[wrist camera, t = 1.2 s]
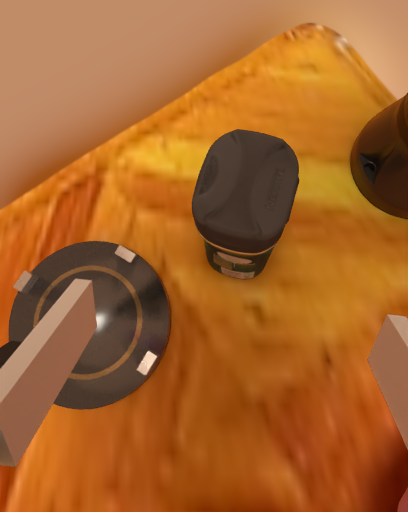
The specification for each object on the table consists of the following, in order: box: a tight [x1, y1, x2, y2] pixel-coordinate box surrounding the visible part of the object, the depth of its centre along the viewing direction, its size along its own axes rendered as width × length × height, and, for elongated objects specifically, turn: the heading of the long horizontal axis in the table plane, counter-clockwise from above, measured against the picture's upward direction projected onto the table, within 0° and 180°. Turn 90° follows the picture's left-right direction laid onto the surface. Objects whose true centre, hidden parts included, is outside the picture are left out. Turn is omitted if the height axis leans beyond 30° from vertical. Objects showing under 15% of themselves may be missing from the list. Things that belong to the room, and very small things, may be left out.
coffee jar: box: [192, 129, 299, 279], centre depth 32 cm, size 10×8×19 cm
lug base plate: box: [9, 241, 171, 409], centre depth 39 cm, size 20×20×3 cm
